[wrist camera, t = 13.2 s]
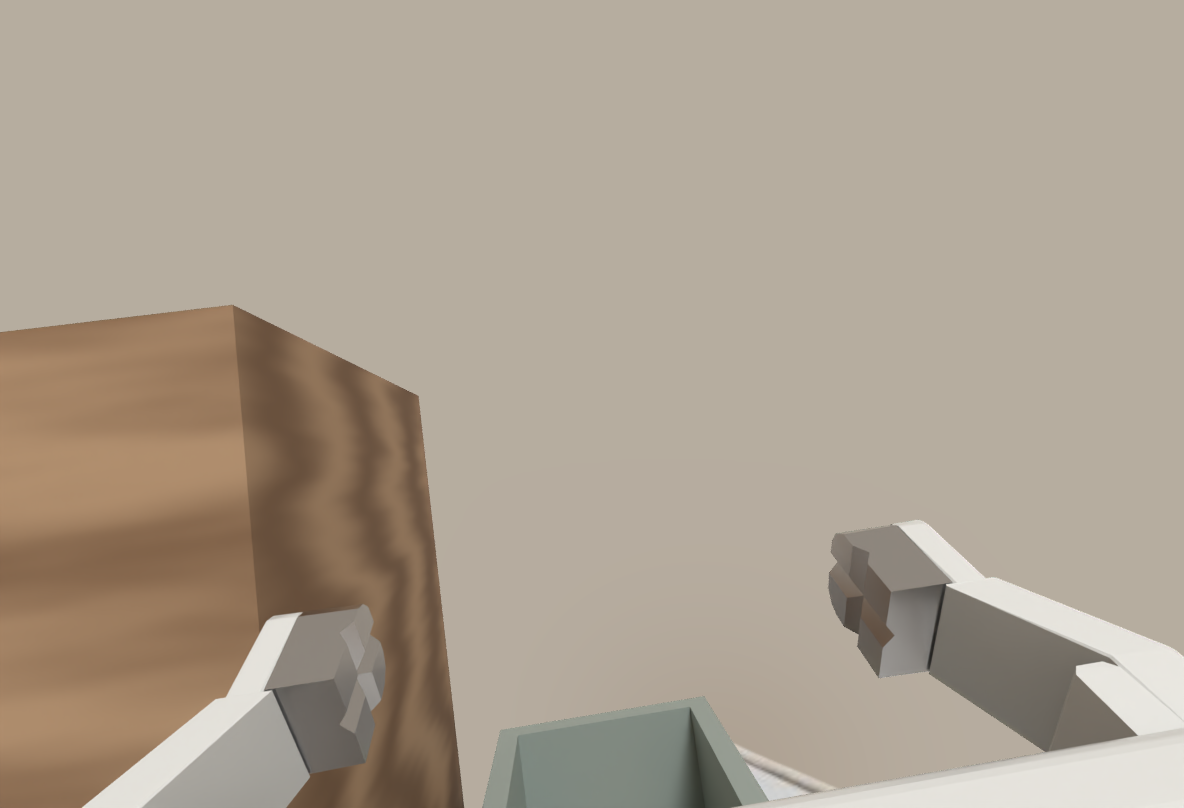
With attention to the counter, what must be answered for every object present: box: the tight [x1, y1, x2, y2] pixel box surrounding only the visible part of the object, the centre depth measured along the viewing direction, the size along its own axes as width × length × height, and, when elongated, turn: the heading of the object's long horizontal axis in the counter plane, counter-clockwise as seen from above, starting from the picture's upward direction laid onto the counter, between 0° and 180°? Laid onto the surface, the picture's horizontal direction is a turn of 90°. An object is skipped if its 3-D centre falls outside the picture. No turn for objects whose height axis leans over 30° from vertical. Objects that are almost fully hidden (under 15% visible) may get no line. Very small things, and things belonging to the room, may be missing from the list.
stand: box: [0, 305, 464, 808], centre depth 21 cm, size 19×11×27 cm, turn 3°
